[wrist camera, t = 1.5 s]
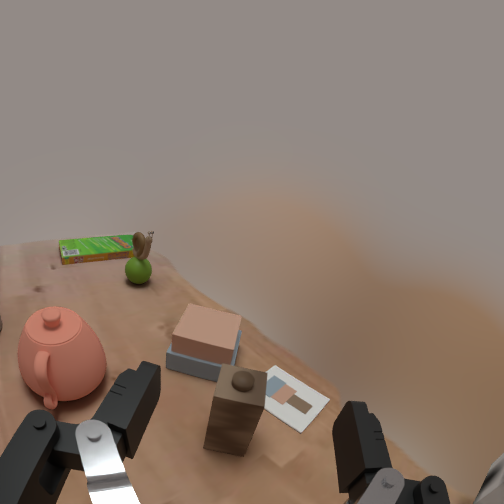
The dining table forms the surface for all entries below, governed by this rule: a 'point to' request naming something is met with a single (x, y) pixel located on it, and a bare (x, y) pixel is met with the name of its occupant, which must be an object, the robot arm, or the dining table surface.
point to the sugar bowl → (60, 356)
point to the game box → (96, 249)
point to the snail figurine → (139, 259)
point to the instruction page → (292, 399)
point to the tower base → (204, 342)
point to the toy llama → (493, 484)
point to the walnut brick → (235, 409)
